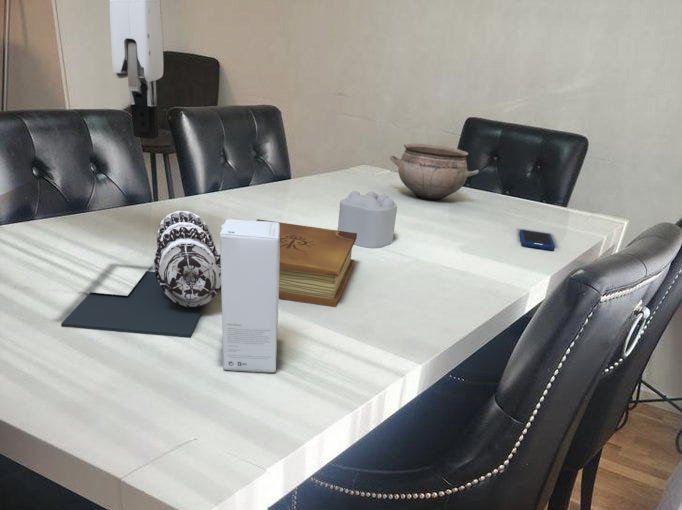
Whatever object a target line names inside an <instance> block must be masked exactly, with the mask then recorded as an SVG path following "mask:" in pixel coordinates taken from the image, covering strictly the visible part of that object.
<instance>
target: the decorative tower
mask: <svg viewBox="0 0 682 510" xmlns="http://www.w3.org/2000/svg"><path fill="white" fill-rule="evenodd" d="M213 239H214V238H213V236H212V234H211V232H210V228H209V227H208V225H207V223H206V222H205V221H204V220H203V219H202V218H201V217H200V216H199V215H197V214H196V213H193V212H191V211H188V210H176V211H173V212H171V213H168V214H167V215H166V216H165V217H164V218H163V219H162V220H161V221H160V224H159V226H158V230H157V233H156V245H157V249H156V252H155V254H154V255H155V258H154V259H153V264H154V270H155V271H154V272H155V273H156V278H157V280H158V281H159V283H160V285H161V287H162V289H163V291H164V293H165V294H166V295H167V296H168V297H169V298H170V299H171V300H173V301H174V302H176V303H178V304H181V305H183V306H186V307H198V306H201V305H203V304H206V305H207V304H208V303H210V302H211V301H212V300H213V299H214V298H215V297H216V296H217V295H218V292H219V290H220V289H219V287H220V285H221V266H220V265H219V262H220V256H219V253H218V251H217V248H216V245H215V243H214V240H213Z"/></svg>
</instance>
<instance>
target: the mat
mask: <svg viewBox="0 0 682 510" xmlns="http://www.w3.org/2000/svg"><path fill="white" fill-rule="evenodd" d="M206 305H207V303H206V304H203V305H201V306H198V307H186V306H183V305H181V304H178V303H176V302H174V301H173V300H171V299H170V298H169V297H168V296H167V295H166V294H165V293H164V291H163V289H162V287H161V285H160V283H159V281H158V280H157V278H156V273H155V271H150V270H146V271H145V272H144V274H143V275H142V276H141V277H140V278H139V280H138V281H137V283H135V285H134V287H133V288H131V290H130V291H129V293H128V294H127V295H123V294H113V293H101V292H100V293H99V292H89V293H88V294H87V295H86V296H85V297H84V298H83V299H82V301H81V302H80V303H79V304H78V305H77V306H76V307H75V308H74V309H73V310H72V311H71V312H70V314H69V315H67V316H66V318H64V320H63V321H62V322H61V323H60V325H61V327H63V328H76V329H78V328H79V329H87V330H97V331H98V330H99V331H111V332H121V333H122V332H123V333H132V334H133V333H135V334H146V335H158V336H168V337H169V336H171V337H182V338H191V337H192V335H193V333H194V330H195V329H196V327H197V324H198V322H199V320H200V318H201V315H202V313H203V311H204V309H205V307H206Z"/></svg>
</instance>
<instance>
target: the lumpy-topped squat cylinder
mask: <svg viewBox="0 0 682 510" xmlns="http://www.w3.org/2000/svg"><path fill="white" fill-rule="evenodd" d="M397 211H398V205H397V203H396V202H395V201H394V199H392V198H390V197H389V195H388V194H386V193H382V194H380V195H378V193H377V192H375V191H369V192H367V193H366V194H361V193H360V192H359V191H357V190H353V191H351V192H350V193H349V194H348V196H347V197H346V198H343V199H340V202H339V211H338V223H337V231H344V232H351V233H357V239H356V241H355V243H354V245H356V246H359V247H362V248H367V249H379V248H380V249H381V248H384V247H387V246H389V245H391V244H393V242H394V234H395V226H396V221H397V220H396V219H397Z"/></svg>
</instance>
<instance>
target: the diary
mask: <svg viewBox="0 0 682 510" xmlns="http://www.w3.org/2000/svg"><path fill="white" fill-rule="evenodd" d="M255 221H266V222H275V221H273V220H266V219H260V218H259V219H258V218H257V219H256V220H255ZM276 222H277V223H279V225H280V260H279V300H285V301H292V302H298V303H305V304H312V305H319V306H325V307H331V308H332V307H333V308H337V306H338V304H339V301H340V299H341V296H342V294H343V291H344V290H345V287H346V285H347V283H348V280H349V278H350V275H351V273H352V270H353V268H354V266H355V259H352V252H353V247H354V245H355V244H354V243H355V241H356V239H357V233H351V232H344V231H338V229H337V230H336V229H329V228H322V227H315V226H308V225H301V224H295V223H288V222H282V221H281V222H280V221H276ZM218 255H219V256H220V253H218ZM219 265H220V266H221V258H220V262H219ZM219 290H220V291H221V285H220V287H219Z"/></svg>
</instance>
